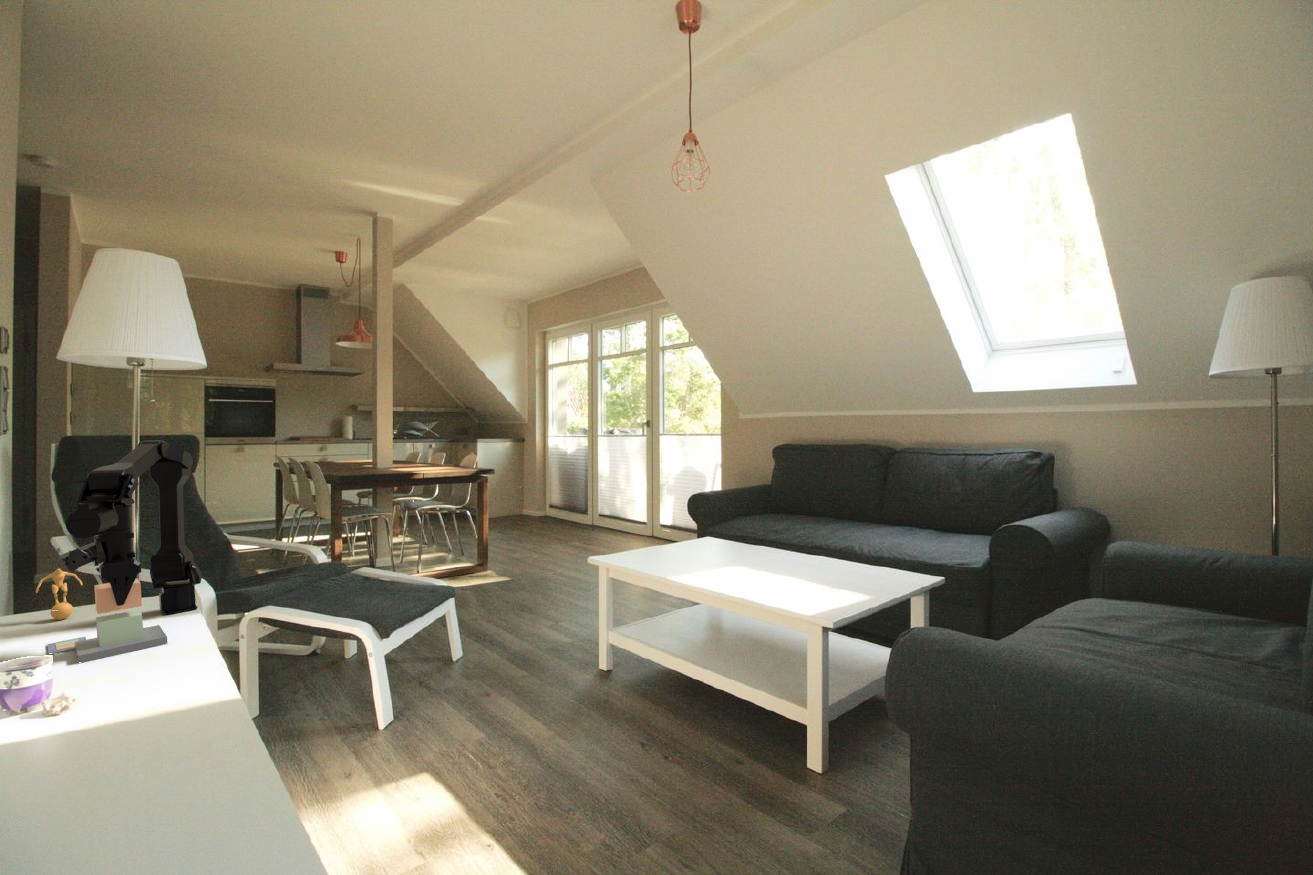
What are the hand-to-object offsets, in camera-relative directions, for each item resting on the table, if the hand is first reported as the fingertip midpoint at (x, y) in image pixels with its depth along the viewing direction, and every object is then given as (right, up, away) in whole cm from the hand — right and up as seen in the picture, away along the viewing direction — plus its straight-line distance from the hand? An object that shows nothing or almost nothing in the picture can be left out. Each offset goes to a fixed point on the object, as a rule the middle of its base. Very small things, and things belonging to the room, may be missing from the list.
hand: (119, 602), depth 134 cm
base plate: (0, -9, 0) cm, 9 cm away
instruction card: (-12, -10, +1) cm, 15 cm away
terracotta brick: (0, -1, 0) cm, 1 cm away
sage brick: (0, -8, 0) cm, 8 cm away
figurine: (-31, -9, +20) cm, 38 cm away
